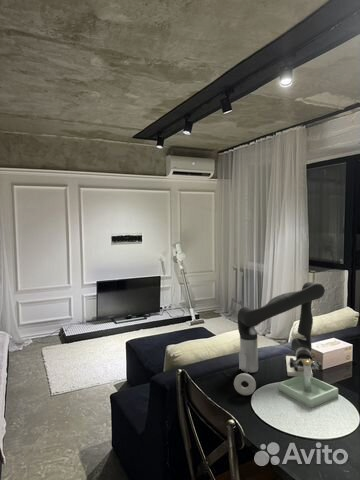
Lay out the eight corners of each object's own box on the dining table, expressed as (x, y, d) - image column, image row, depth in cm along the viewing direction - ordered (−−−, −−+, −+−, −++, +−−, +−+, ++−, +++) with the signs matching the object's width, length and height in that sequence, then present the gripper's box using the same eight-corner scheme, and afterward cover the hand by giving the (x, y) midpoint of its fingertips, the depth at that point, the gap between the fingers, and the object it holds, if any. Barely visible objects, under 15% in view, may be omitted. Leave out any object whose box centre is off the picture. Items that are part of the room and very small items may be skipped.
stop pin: (308, 394, 146) (307, 363, 146) (300, 390, 150) (299, 360, 150) (315, 391, 148) (314, 361, 148) (306, 387, 152) (306, 358, 152)
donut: (233, 395, 149) (233, 374, 148) (234, 392, 152) (233, 371, 152) (256, 397, 146) (255, 375, 146) (256, 394, 150) (255, 372, 150)
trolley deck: (312, 377, 164) (312, 374, 164) (287, 375, 167) (287, 371, 167) (308, 360, 185) (308, 357, 185) (286, 359, 188) (285, 355, 188)
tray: (310, 407, 137) (310, 399, 137) (278, 390, 153) (278, 382, 153) (338, 396, 146) (338, 388, 145) (305, 380, 161) (305, 373, 161)
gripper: (288, 348, 168) (290, 361, 152) (318, 350, 164) (323, 363, 148) (289, 363, 168) (290, 376, 152) (319, 365, 164) (323, 379, 148)
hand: (306, 370), depth 150 cm, fingers open, 8 cm apart
